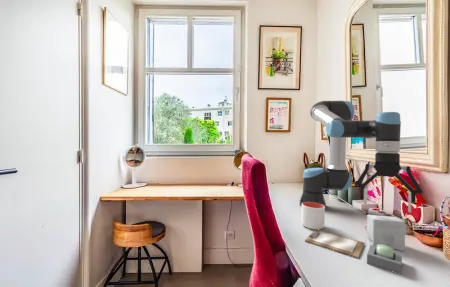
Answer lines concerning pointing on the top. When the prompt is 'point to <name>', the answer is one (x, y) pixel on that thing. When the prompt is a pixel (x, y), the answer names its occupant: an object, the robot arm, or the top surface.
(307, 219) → the cup
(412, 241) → the top surface
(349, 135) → the robot arm
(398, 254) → the button box
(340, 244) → the clipboard
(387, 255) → the button
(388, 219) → the skincare box
